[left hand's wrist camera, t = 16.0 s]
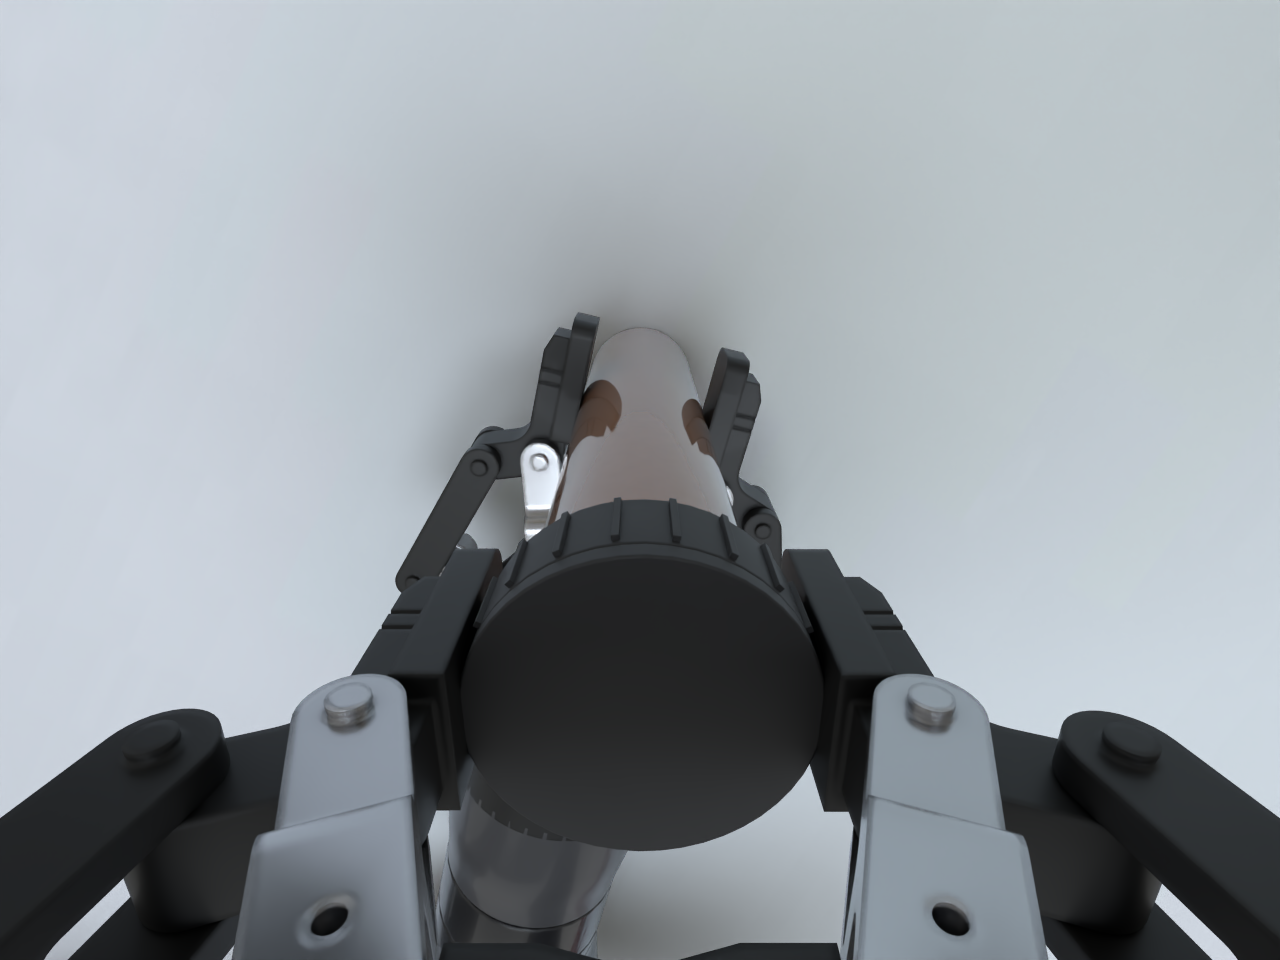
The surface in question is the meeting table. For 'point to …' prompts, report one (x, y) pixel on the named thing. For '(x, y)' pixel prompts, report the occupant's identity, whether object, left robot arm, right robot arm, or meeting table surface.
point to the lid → (642, 678)
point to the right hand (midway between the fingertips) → (660, 338)
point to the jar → (640, 432)
